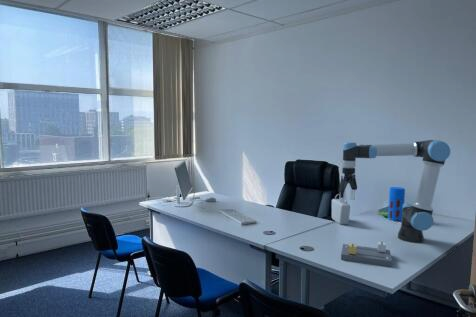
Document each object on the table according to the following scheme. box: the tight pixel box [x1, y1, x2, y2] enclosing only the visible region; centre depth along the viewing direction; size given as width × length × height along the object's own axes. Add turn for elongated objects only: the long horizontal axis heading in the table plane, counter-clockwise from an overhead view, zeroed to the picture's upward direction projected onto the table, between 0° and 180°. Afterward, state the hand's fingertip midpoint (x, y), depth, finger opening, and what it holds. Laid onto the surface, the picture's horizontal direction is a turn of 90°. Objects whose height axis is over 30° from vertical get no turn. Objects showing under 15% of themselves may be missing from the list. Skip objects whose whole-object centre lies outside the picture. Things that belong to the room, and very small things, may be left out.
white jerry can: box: [331, 190, 351, 226], centre depth 264 cm, size 22×8×25 cm, turn 4°
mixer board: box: [340, 243, 393, 268], centre depth 191 cm, size 25×18×3 cm
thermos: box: [387, 186, 406, 222], centre depth 274 cm, size 11×11×25 cm
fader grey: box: [376, 241, 387, 252], centre depth 193 cm, size 4×5×4 cm
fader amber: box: [348, 243, 358, 255], centre depth 189 cm, size 4×5×4 cm
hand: (347, 201), depth 218 cm, fingers open, 13 cm apart
